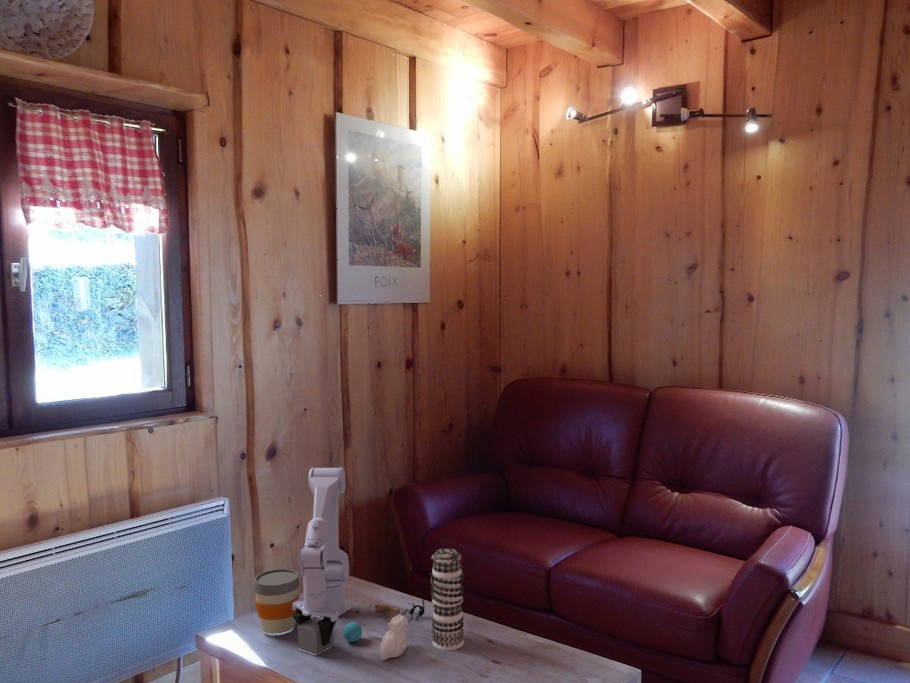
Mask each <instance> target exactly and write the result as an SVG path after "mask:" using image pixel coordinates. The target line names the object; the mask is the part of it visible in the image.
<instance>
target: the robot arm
mask: <svg viewBox="0 0 910 683" xmlns="http://www.w3.org/2000/svg"><path fill="white" fill-rule="evenodd" d="M307 483H308V487H309V488H310V491H311V493H312V494H313V495H314V496H313V511H312V519H311V520H309V521H308V523H307V527H306V532H305V540H304V546H303V547H302V548H301V549H300V552H299V567H300V572H301V577H302V581H303V584H302V586H303V589H302V591H303V600H299V601H298V600H297V601H295V602H293V603H292V606H293V610H297V611H296V613H294V614H293V618H294V619H295V623H296V624H297V626H298V625H300V624H302V623H304V622H306V621H307V620H309V619H311V618H312V616H315V617H319V618H322V620H320V621H319V622H318V625H319V628H320V631H321V641H322V646H326V645H327V644H329V642H330V637H331V633H332V630H333V631H334V627H335V625H336V623H337V621H338V620H339V617H340V616H342V615H344V614H345V613H346V611H347V612H349V611H350V610H352V608H351V607H350V606H347V605H345V582H347V581H348V580H349V575H350V564H349V563H350V562H349V556H348V553H347V552H345V551H344V550H342V549H340V546H339V543H340V542H339V541H340V540H339V538H340V536H339V533H340V532H339V500H340V499H339V498H340V495H341V494H344V493H345V490H346V471H345V469H344V467H342V466H340V467H311V468H310V469H309V472H308V482H307ZM348 610H349V611H348ZM341 614H342V615H341Z"/></svg>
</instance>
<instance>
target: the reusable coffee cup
mask: <svg viewBox="0 0 910 683" xmlns="http://www.w3.org/2000/svg"><path fill="white" fill-rule="evenodd" d="M300 584H301V583H300V578H299V573H298V572H297V571H296V570H294V569H290V568H277V569H276V568H275V569H268V570H265V571H262V572H261V573H259V574H257V575H256V576H255V577H254V583H253V591H254V592H255V598H254V599H255V600H254V601H255V608H256V613H257V617H259V622H260V628H261V629H260V630H261V632H262V631H264V632H266V633H271V634H273V633H282V632H286V631H289V630H291V629H292V628H293V627H294V625H295V624H296V621H295V619H294V618H293V614H294V613H296V611H297V610H293V606H292V603H293V602H295V601H297V600H298V601H300V600H299V599H300V593H299V587H300ZM294 628H295V627H294Z"/></svg>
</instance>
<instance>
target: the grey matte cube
mask: <svg viewBox="0 0 910 683" xmlns="http://www.w3.org/2000/svg"><path fill="white" fill-rule="evenodd" d="M322 619H323V617H319V616H312V617H311V619H309V620H307V621H306V622H304V623H302V624H300V625H298V624H297V648H300V649H302V650H305V651H308V652H311V653H313V654H316V655H317V654H319V653H321V652H322V651H324V650H326V649H327V648H329V647H331V646H332V645H333V646H334V629H333V630H332V633H331V637H330V642H329V644H327V645H326V646H322V641H321V631H320V628H319V625H318V622H319V621H320V620H322ZM333 646H332V647H333ZM332 647H331V648H332ZM329 649H330V648H329ZM326 651H327V650H326ZM321 654H322V653H321Z"/></svg>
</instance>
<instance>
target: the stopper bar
mask: <svg viewBox="0 0 910 683" xmlns="http://www.w3.org/2000/svg"><path fill="white" fill-rule="evenodd" d="M374 610H375V612H377V613H376V614H379V613H381V614H380V615H382V614H384V615H383V616H386V615H388V616H387V617H390V616H391V617H390V618H393V617H396V616H397V615H398V614H401V612H400V610H401V609H400V608H398V607H395V606H390V605H388V604H383V603H380V602H376V603H375V604H374ZM375 612H374V613H375Z"/></svg>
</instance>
